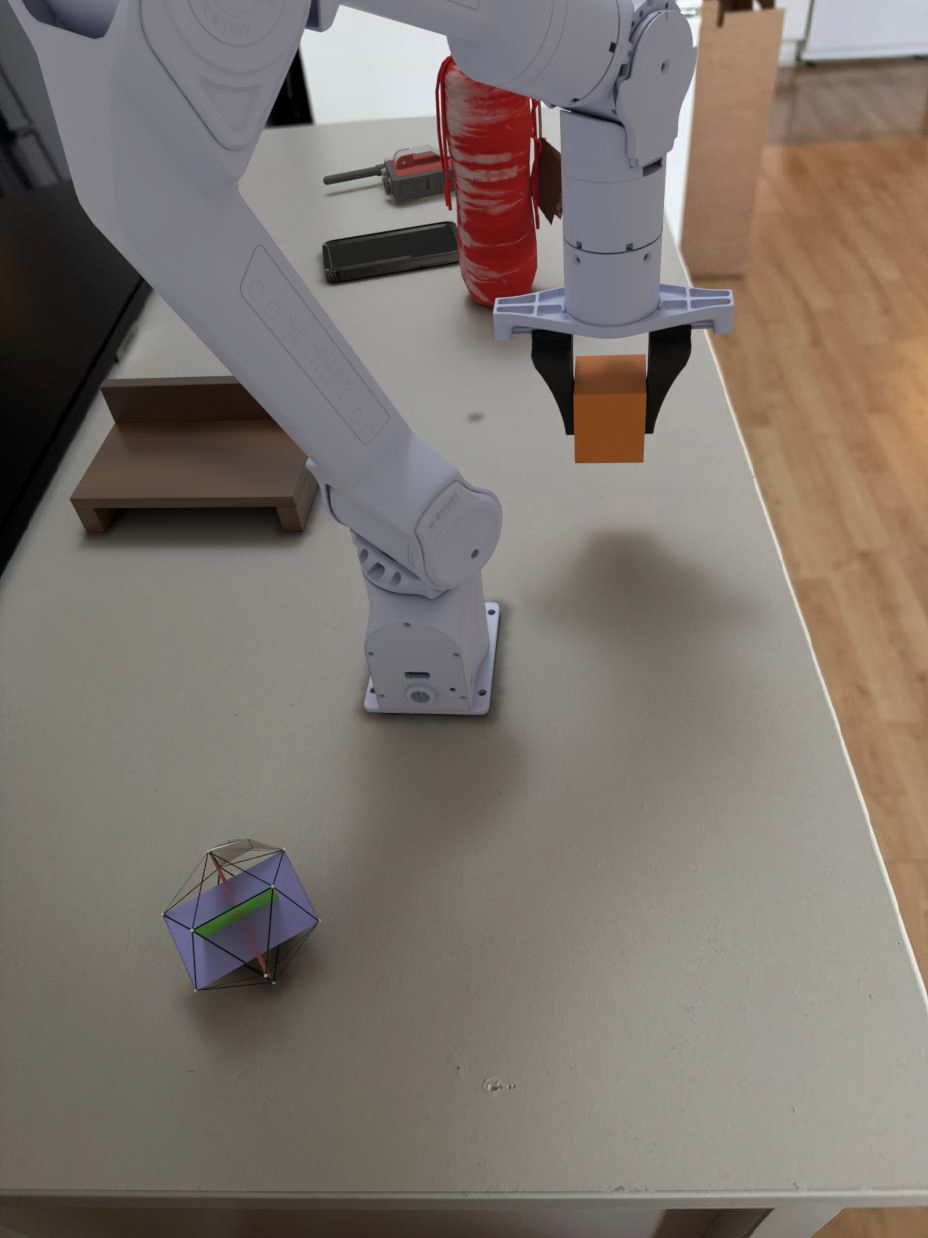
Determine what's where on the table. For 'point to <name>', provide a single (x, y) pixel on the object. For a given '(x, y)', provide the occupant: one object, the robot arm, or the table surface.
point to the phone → (390, 251)
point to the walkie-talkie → (406, 173)
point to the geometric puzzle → (240, 915)
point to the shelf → (192, 453)
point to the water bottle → (495, 181)
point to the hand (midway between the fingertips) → (610, 425)
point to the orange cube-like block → (609, 408)
